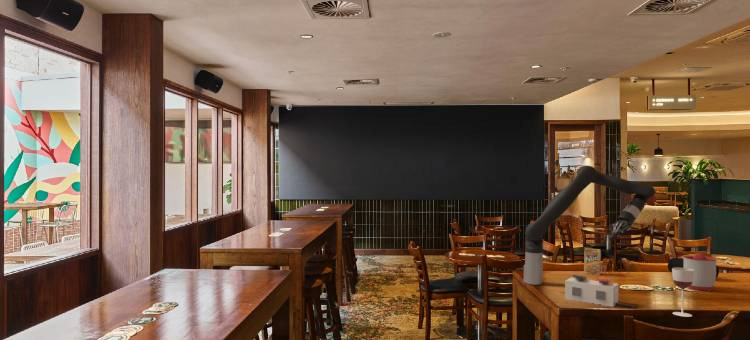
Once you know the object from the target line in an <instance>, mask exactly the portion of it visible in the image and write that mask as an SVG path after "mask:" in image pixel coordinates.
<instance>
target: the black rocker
mask: <svg viewBox="0 0 750 340" xmlns="http://www.w3.org/2000/svg"><path fill="white" fill-rule="evenodd" d="M572 278H575V280H582V281H584V279H586V280H588V278H587V276H583V275H580V274H572Z"/></svg>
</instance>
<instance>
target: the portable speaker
mask: <svg viewBox="0 0 750 340" xmlns="http://www.w3.org/2000/svg"><path fill="white" fill-rule="evenodd" d="M676 267H679V268H683V267H684V258H681V257H679V258H678V257H673V258H670V259H669V260H668V262H667V269H668V272H670V273H672V268H676ZM719 268H720V267H719V266H718V265H717V264H716V279H718V277H719V275H720V274H719V273H720V269H719Z"/></svg>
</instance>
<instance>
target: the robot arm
mask: <svg viewBox="0 0 750 340" xmlns="http://www.w3.org/2000/svg"><path fill="white" fill-rule="evenodd" d="M590 184H596V185H599V186H600V185H601V186H604V187H606V188H609V189H612V190H614V191H616V192H620V193H623V194H626V195H633V194H634V196H633V198H632V199H631V200H630V202H628V204H627V205H626V206H625V208H623V210H622V211H621V213H620V214H618V216H617V220H616V221H615V222H614V223H609V231H610V232H611V234H610V235H609V236H608V239H609V240H610V241H613V242H614V241H615V240H616V239H617V237H619V236H624V235H625V234H627V233H629V232H631V231H632V228H631V227H632V226H633V224H634V223H635V222H636V220H637V218H638V217H639V216H640V213H642V211H643V210H644V208H645V206H646V203H647V202H649V200H650V199H652V198H653V197H654V196H655V195H656V188H654V187H653V186H652V185H650V184H648V183H642V182H641V183H640V182H634V181H630V180H627V179H625V178H621V177H617V176H615V175H614V176H613V175H609V174H607V173H606V174H605V173H603V172H600V171H598V170H597V169H596V168H595V167H593V166H591V165H582V166H580V167H578V169H577V170H576V175H575V177H574V179H572V180H571V182H570V183H569V184H568V185H566V186H564V188H562V189H561V190H560V191H559V192H558V193H557V194H555V196H554V197H553V198H552V199H551V201H549V203H548V204H547V206H546V207H545V208H544V210H543V212H542V213H541V214H540V216H539V217H538V218H537V219H536V220H534V222H531V223H529V224H527V226H526V227H525V232H524V234H525V235H524V237H525V239H524V241H525V244H524V246H525V254H524V255H525V258H524V259H525V261H524V265H523V283H525V284H529V285H534V286H535V285H536V286H537V285H542V284H543V264H544V263H543V261H544V260H543V259H544V257H543V255H544V251H543V249H544V247H543V246H544V245H543V244H544V243H543V236H544V235H545V234H546V232H547V231H548V229H550V227H552V225H553V223H555V222H556V221H557V220H558V219H559V218H560V217H561V216H562V215H563V214H564V213H565V212H566V211H567V210H568V208H569V207H570V206H571V205H572V204H573V203H574V201H576V200H577V198H578V196H579V195H580V194H581V193H582V192H583V191H584V190H585V189H586V188H587V187H588V186H590Z"/></svg>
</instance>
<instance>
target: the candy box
mask: <svg viewBox="0 0 750 340" xmlns="http://www.w3.org/2000/svg"><path fill="white" fill-rule="evenodd" d="M601 251H602V250H601V249H600V248H589V247H588V248H586V247H585V248H584V257H583V259H584V261H583V262H584V264H583V274H585V275H594V276H600V275H601V261H602V260H601V259H602V258H601V255H602V252H601Z"/></svg>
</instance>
